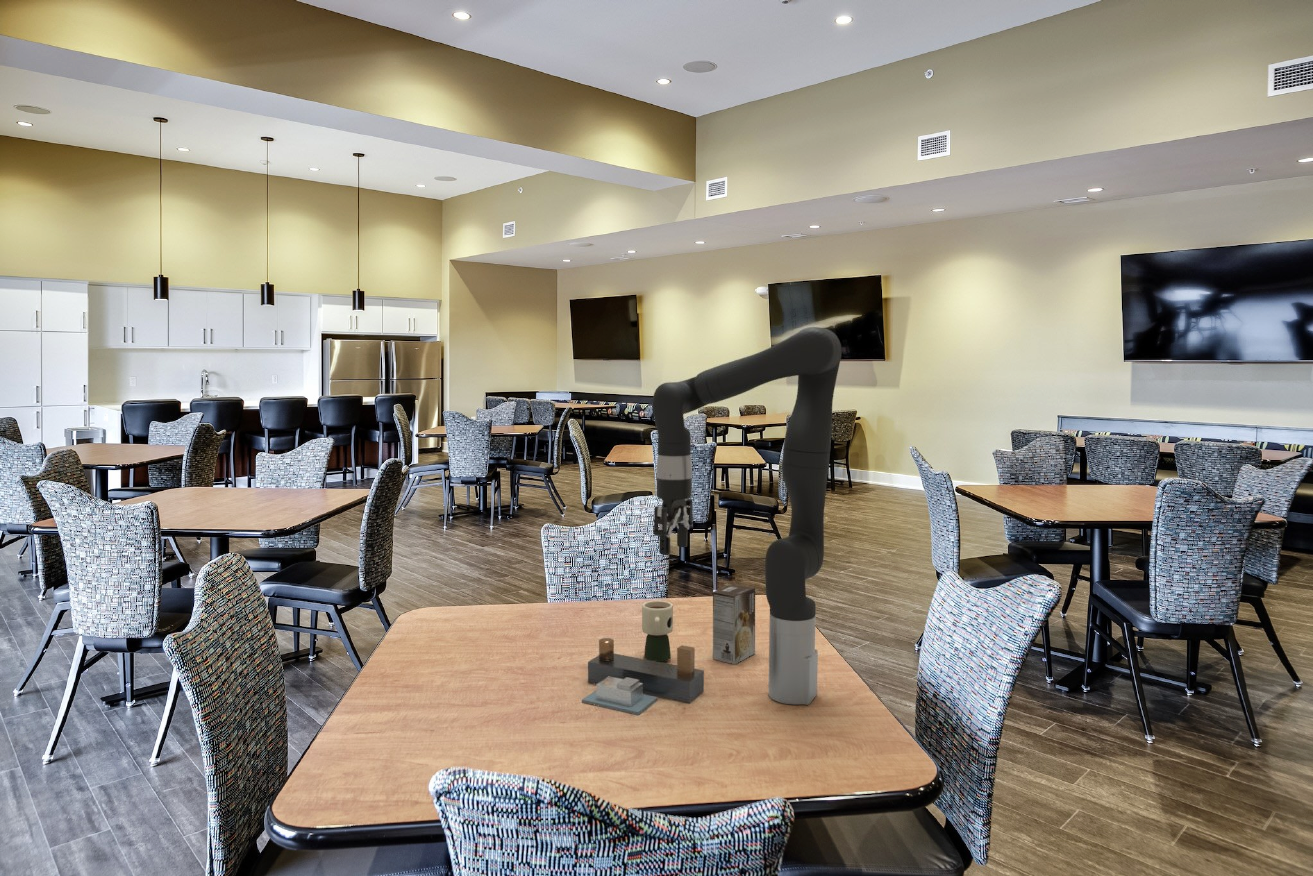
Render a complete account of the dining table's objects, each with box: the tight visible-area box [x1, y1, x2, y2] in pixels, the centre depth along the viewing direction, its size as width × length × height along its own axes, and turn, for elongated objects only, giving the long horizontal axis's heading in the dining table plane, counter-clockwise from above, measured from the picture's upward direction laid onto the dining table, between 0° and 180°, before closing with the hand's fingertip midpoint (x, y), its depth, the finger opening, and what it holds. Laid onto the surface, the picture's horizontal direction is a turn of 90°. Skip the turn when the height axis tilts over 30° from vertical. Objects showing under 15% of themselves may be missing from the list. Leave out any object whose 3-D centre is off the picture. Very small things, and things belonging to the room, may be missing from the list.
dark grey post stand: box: [587, 637, 705, 704], centre depth 170 cm, size 24×7×10 cm, turn 63°
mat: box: [581, 689, 658, 716], centre depth 163 cm, size 13×8×1 cm, turn 63°
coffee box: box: [712, 583, 756, 665], centre depth 188 cm, size 9×6×16 cm
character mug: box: [641, 600, 674, 662], centre depth 186 cm, size 11×7×13 cm, turn 179°
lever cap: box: [595, 676, 643, 707], centre depth 163 cm, size 8×5×4 cm, turn 63°
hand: (673, 550), depth 173 cm, fingers open, 8 cm apart
